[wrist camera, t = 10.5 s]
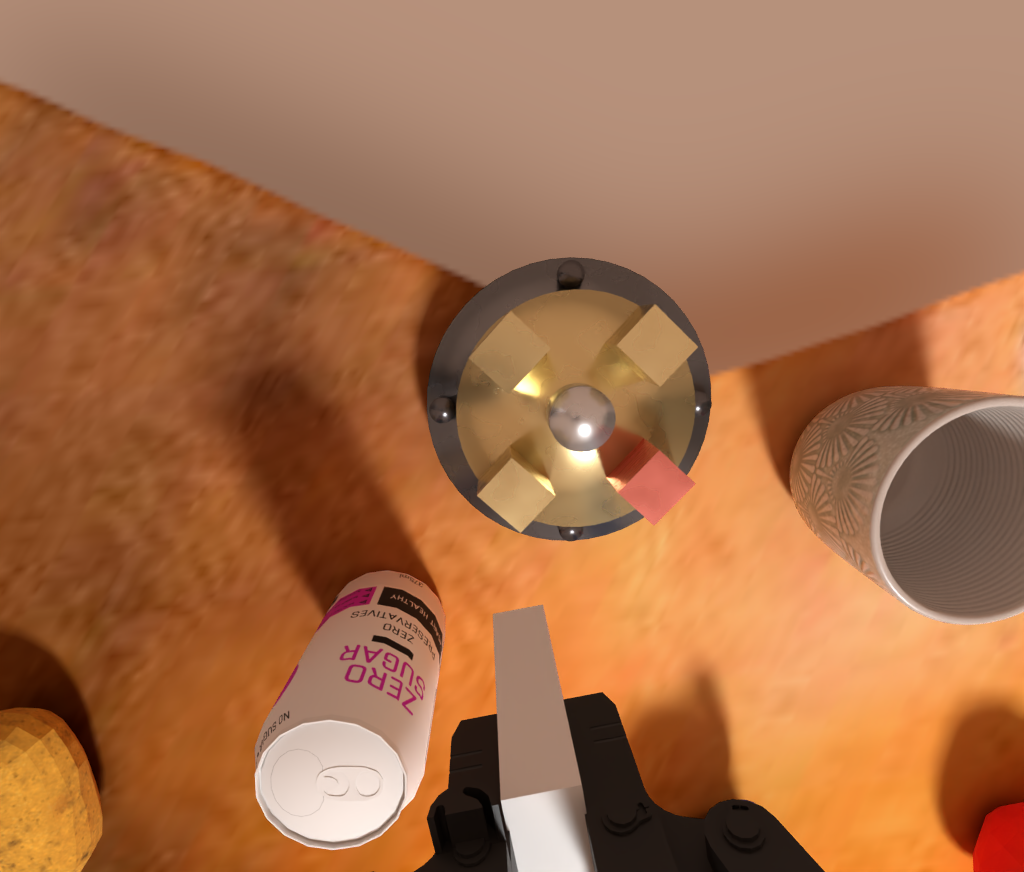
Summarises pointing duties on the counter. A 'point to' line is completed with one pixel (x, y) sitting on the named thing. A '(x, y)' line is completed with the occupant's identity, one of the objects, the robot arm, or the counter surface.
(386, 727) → the supplement can
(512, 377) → the brass disc with cubes
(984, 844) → the tomato
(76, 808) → the potato
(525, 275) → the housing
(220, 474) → the counter surface
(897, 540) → the planter
